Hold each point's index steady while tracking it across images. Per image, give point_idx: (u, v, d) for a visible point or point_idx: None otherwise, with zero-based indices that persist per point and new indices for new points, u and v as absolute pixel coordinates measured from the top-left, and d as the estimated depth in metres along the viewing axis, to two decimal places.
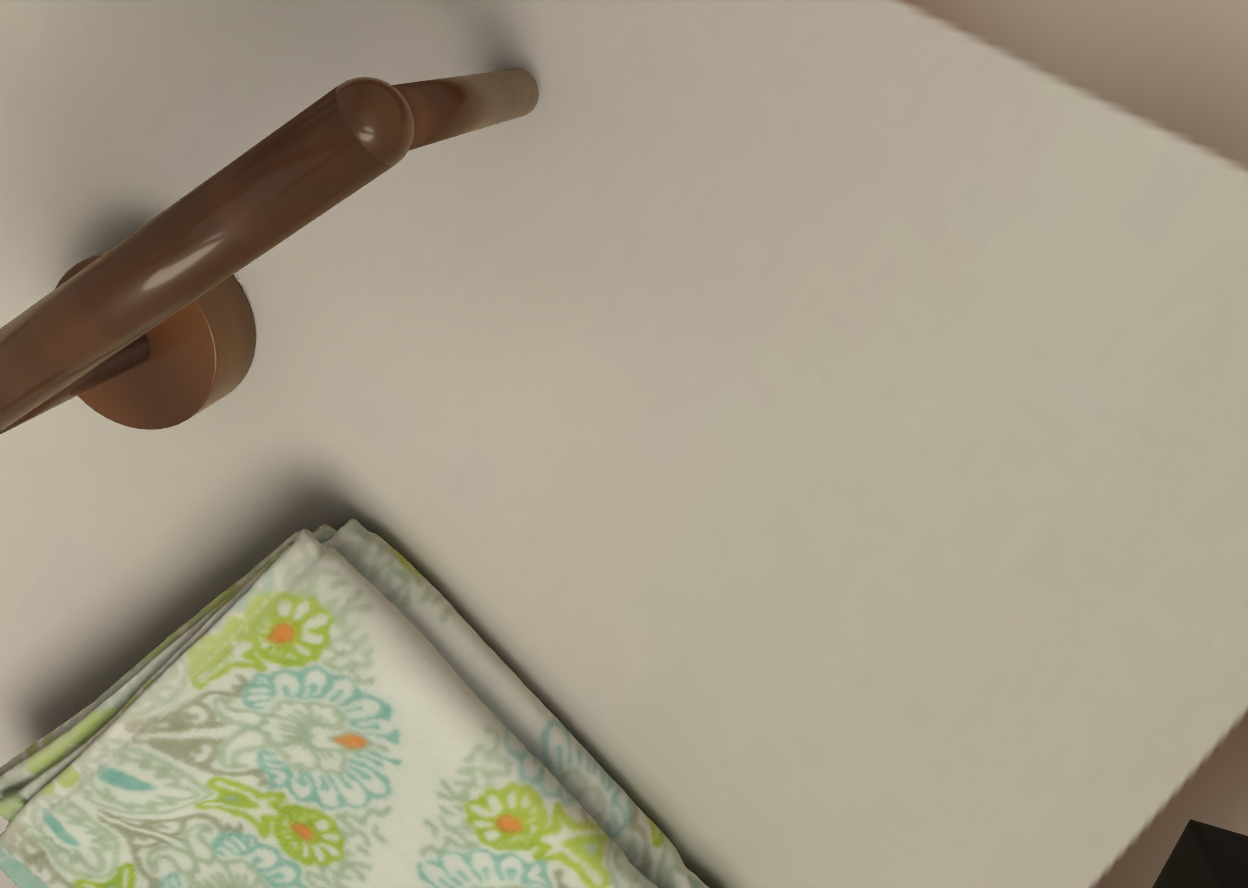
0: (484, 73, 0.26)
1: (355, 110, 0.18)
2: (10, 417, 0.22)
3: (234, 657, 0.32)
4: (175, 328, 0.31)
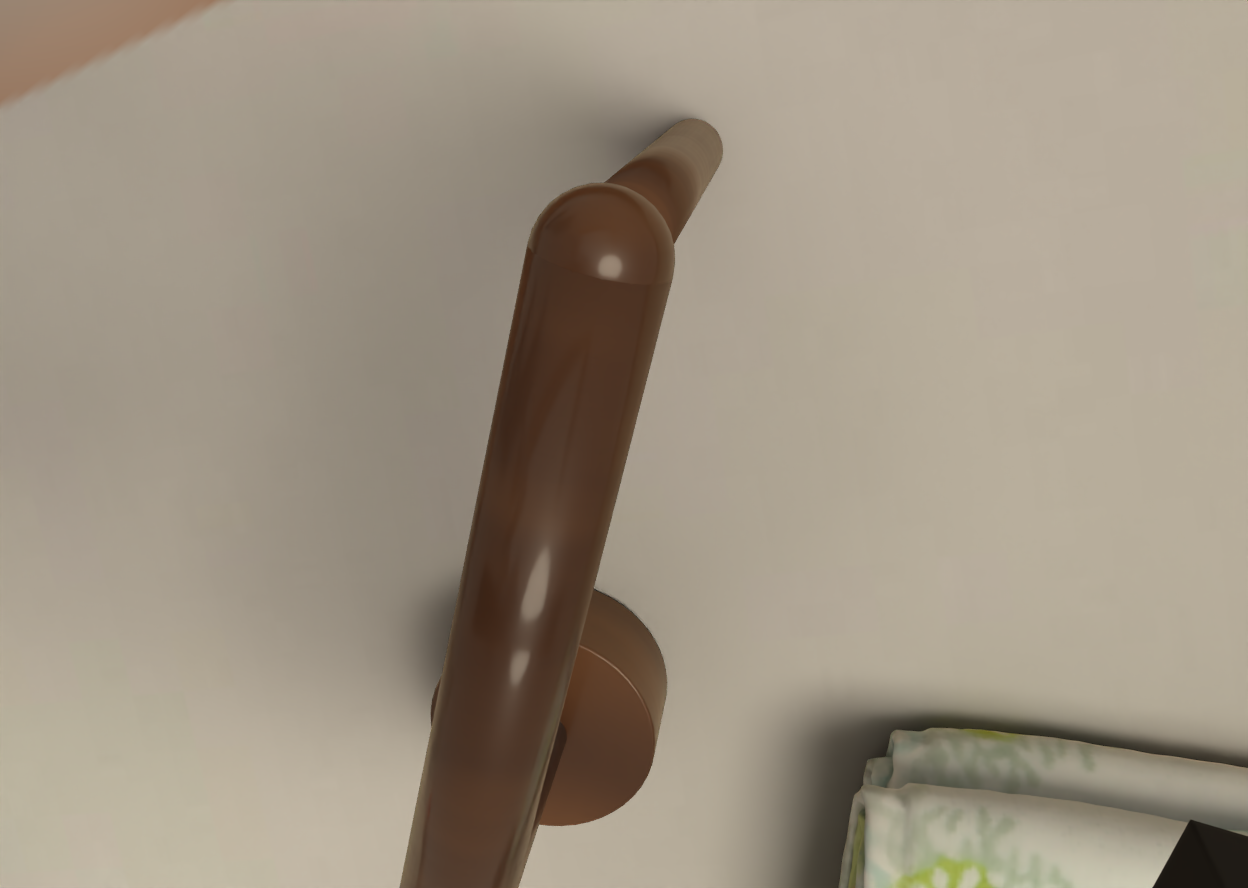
0: None
1: (573, 247, 0.11)
2: None
3: None
4: None
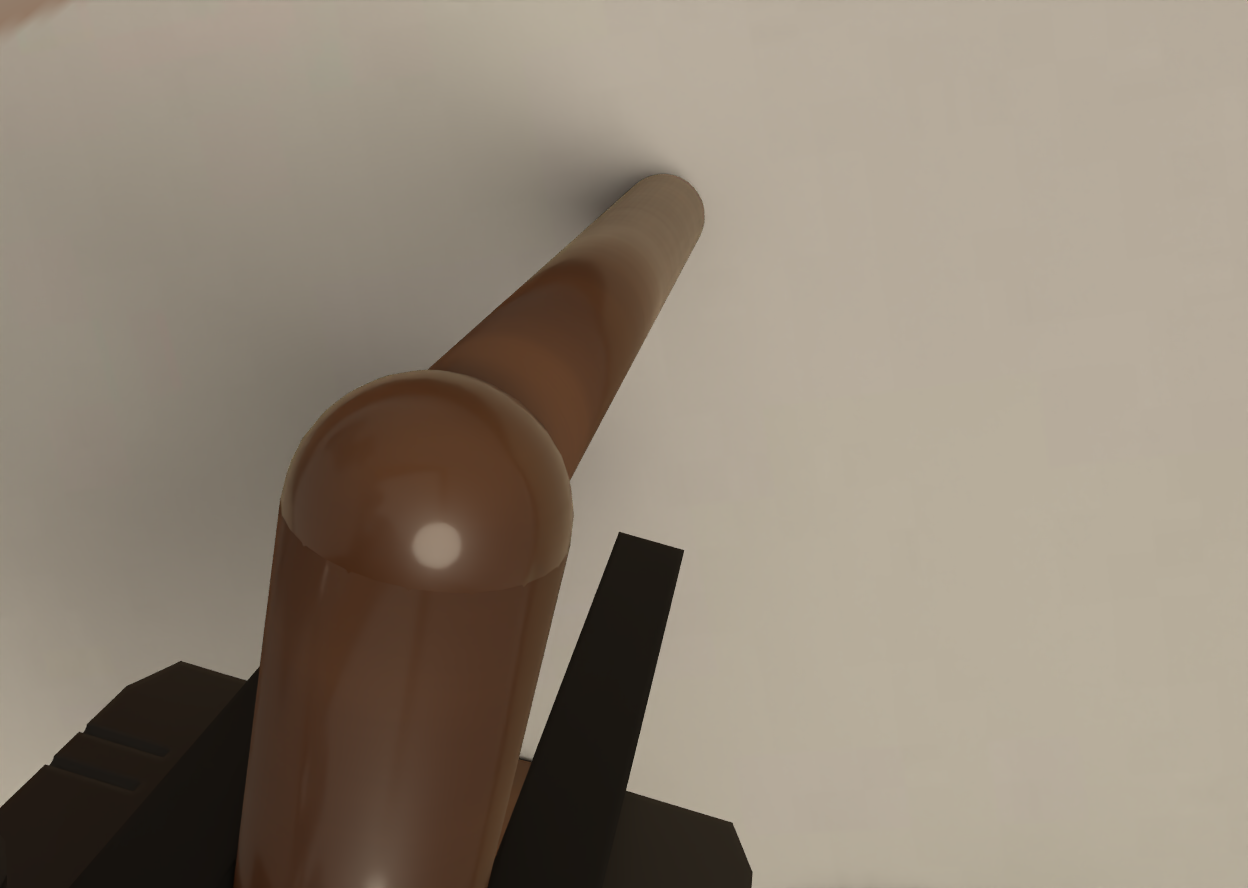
0: (597, 218, 0.13)
1: (350, 520, 0.05)
2: None
3: None
4: None
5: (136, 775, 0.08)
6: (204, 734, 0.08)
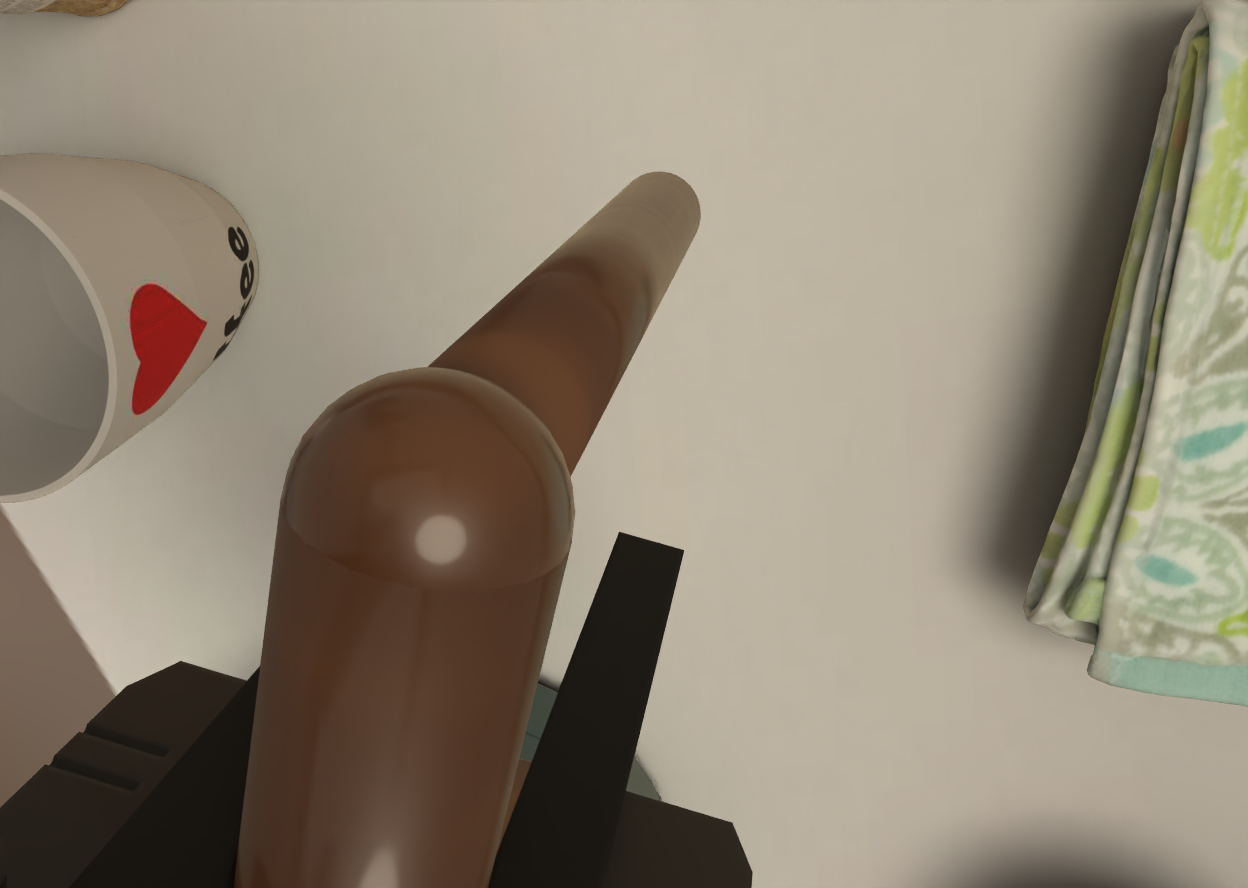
0: None
1: (352, 518, 0.05)
2: None
3: (1247, 178, 0.25)
4: None
5: (136, 776, 0.08)
6: (206, 734, 0.08)
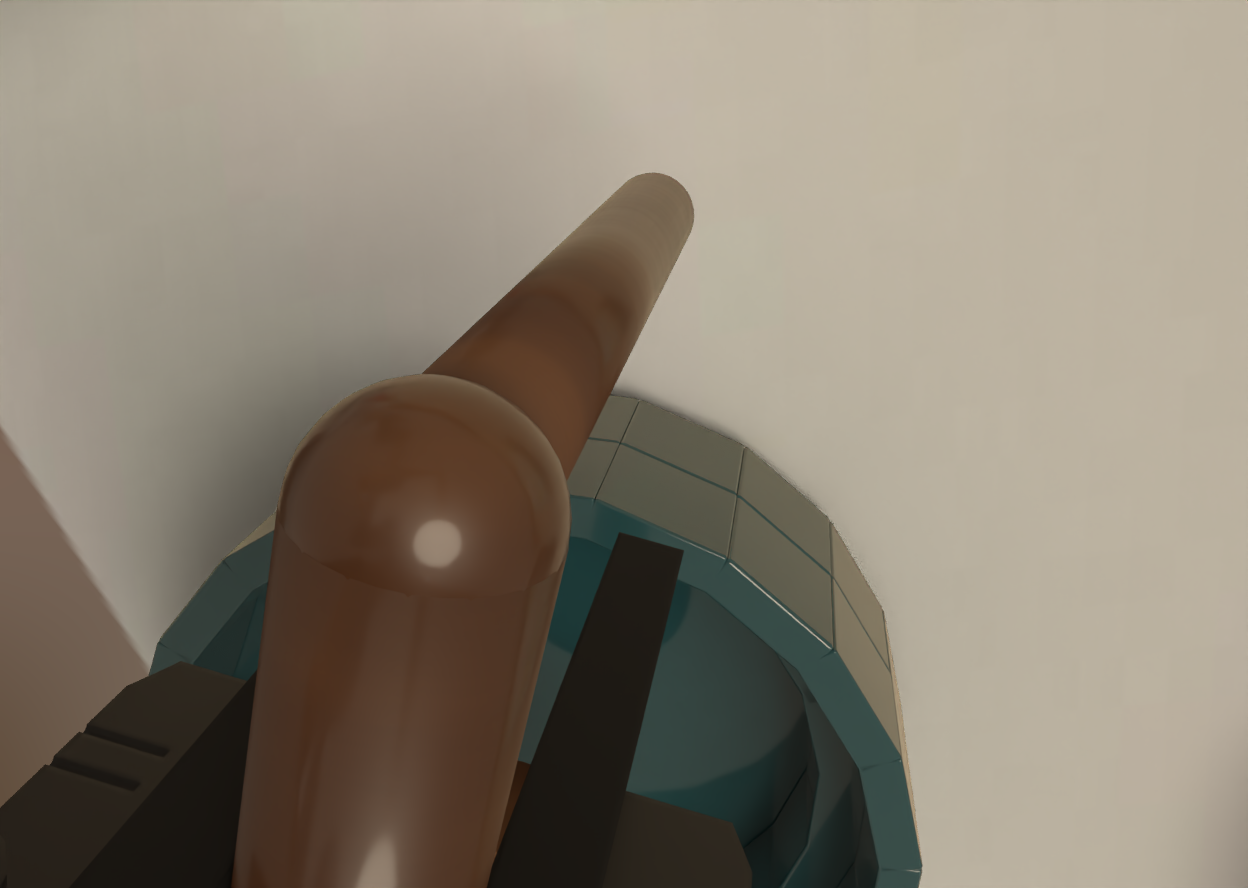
0: (588, 217, 0.13)
1: (350, 526, 0.05)
2: None
3: None
4: None
5: (136, 775, 0.08)
6: (204, 734, 0.08)
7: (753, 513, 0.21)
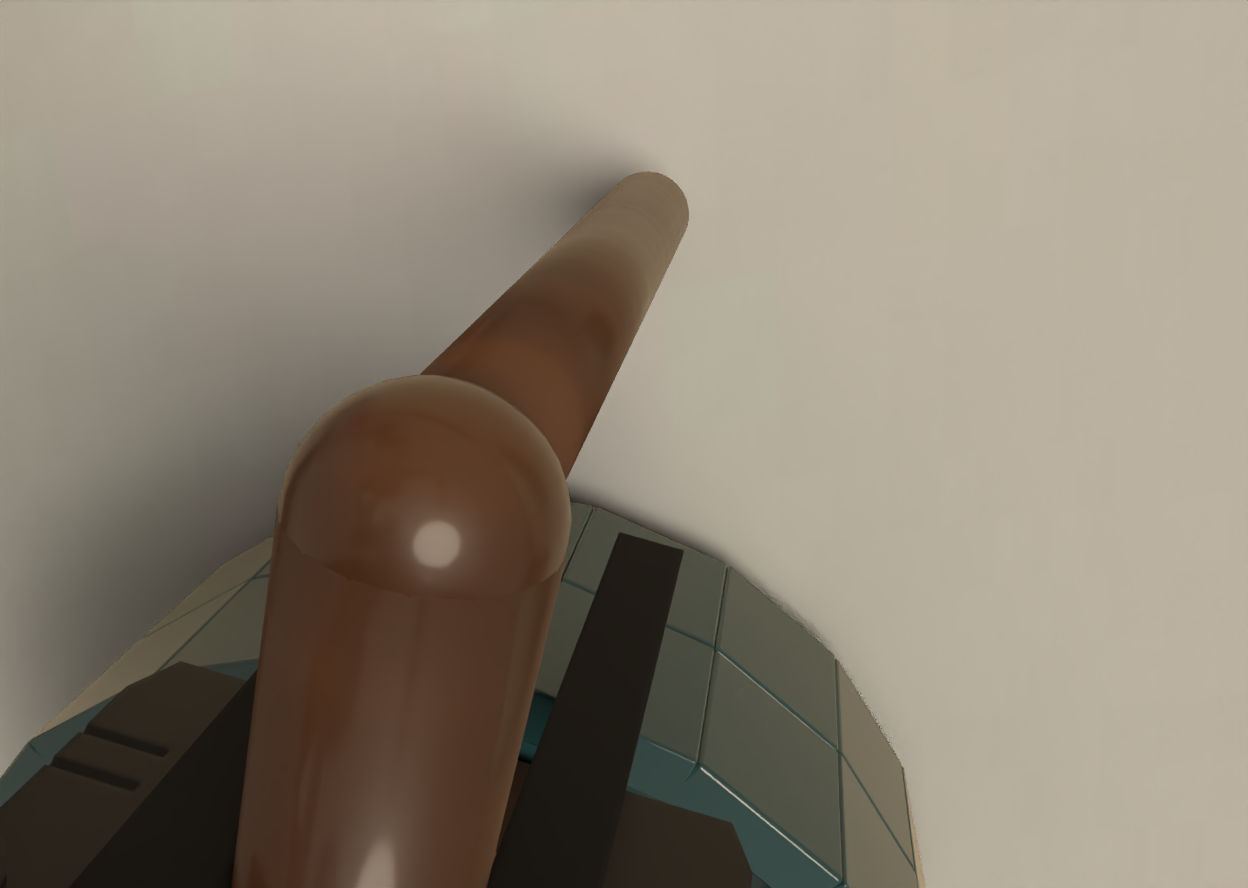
0: (583, 217, 0.13)
1: (351, 528, 0.05)
2: None
3: None
4: None
5: (136, 775, 0.08)
6: (204, 734, 0.08)
7: (735, 674, 0.16)
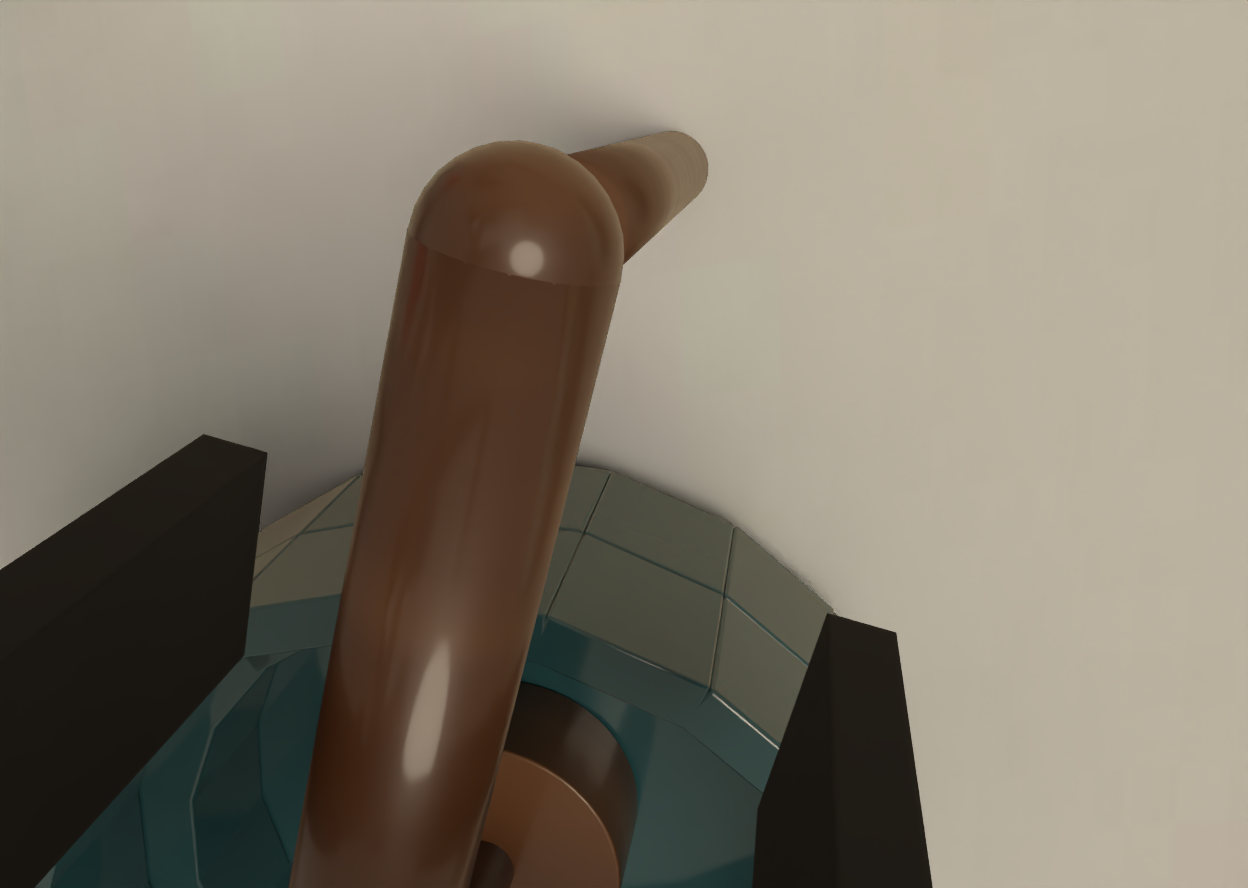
0: None
1: (467, 226, 0.07)
2: None
3: None
4: (515, 808, 0.20)
5: None
6: None
7: (742, 619, 0.17)
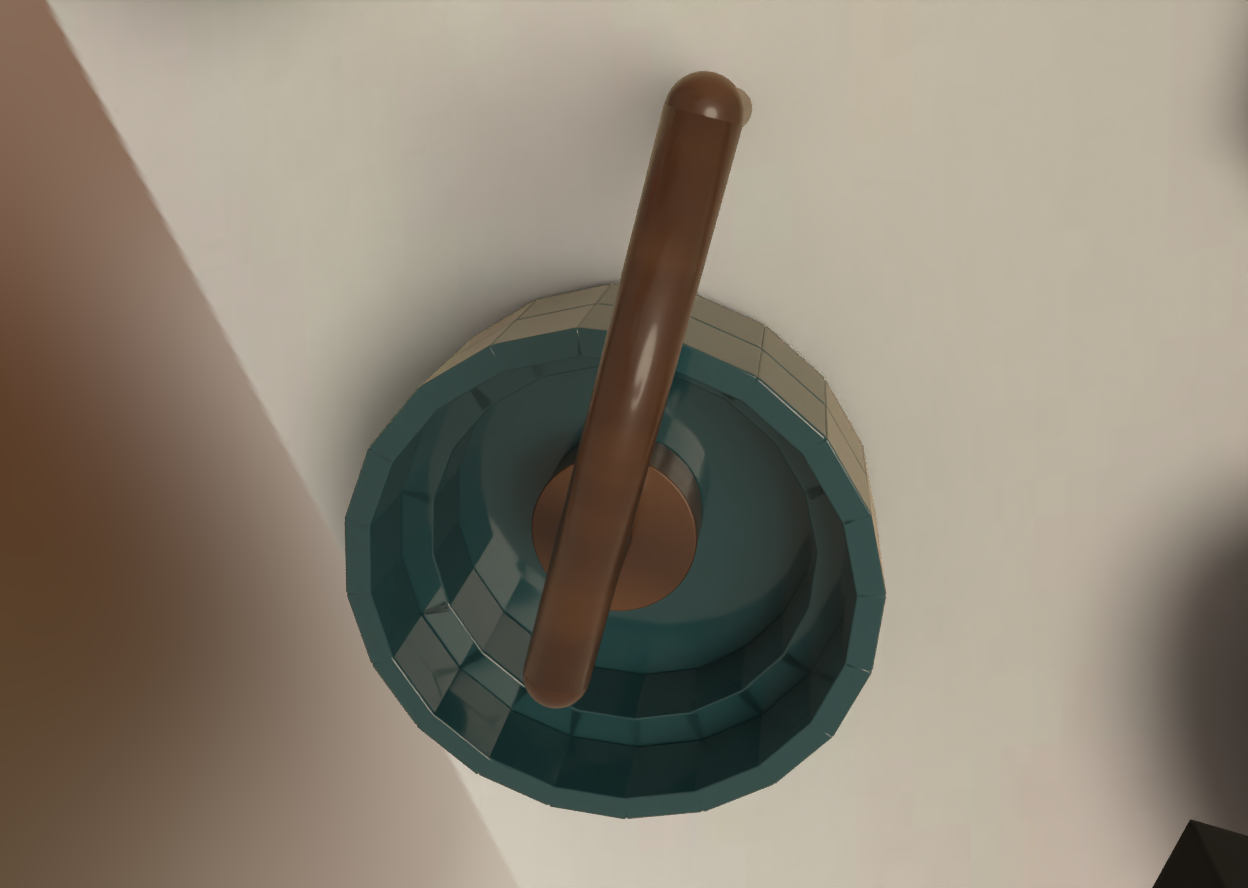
0: None
1: (693, 100, 0.21)
2: (617, 567, 0.24)
3: None
4: None
5: None
6: None
7: (772, 360, 0.31)
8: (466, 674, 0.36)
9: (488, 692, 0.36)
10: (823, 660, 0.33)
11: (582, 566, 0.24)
